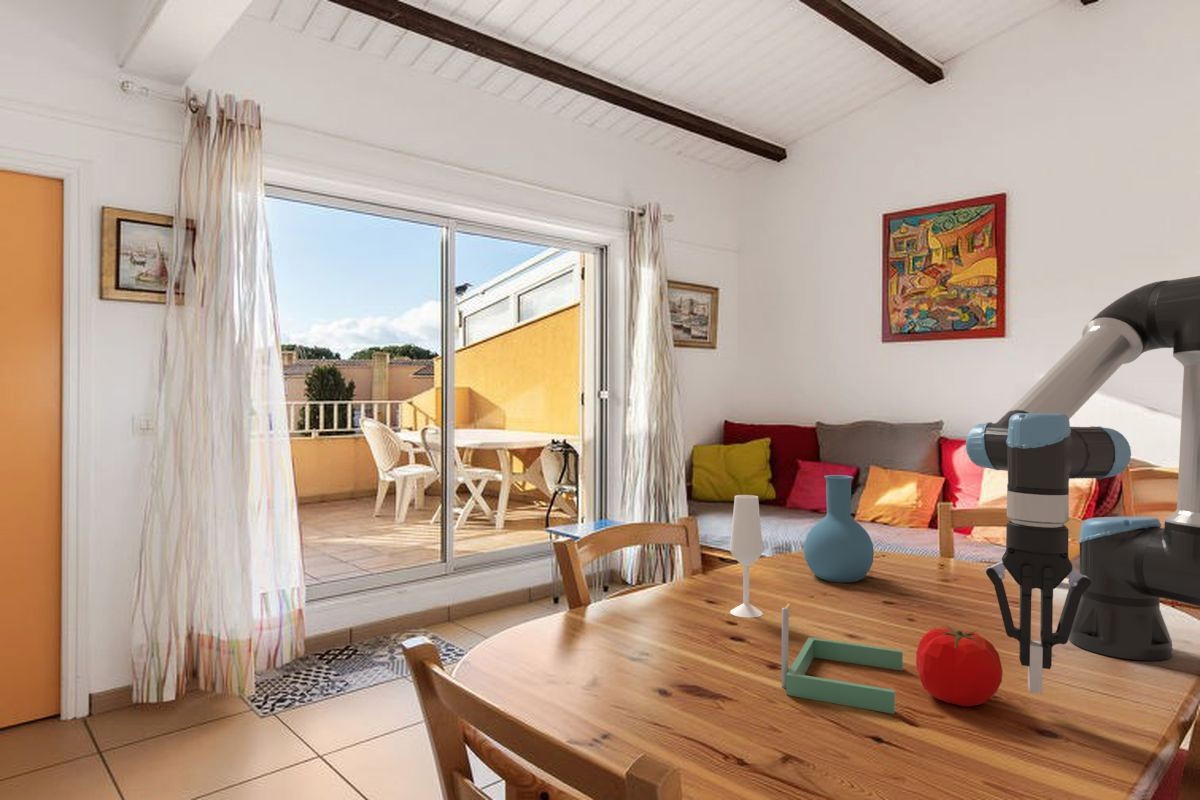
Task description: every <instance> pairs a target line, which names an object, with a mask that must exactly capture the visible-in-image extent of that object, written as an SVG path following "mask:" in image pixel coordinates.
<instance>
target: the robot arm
mask: <svg viewBox="0 0 1200 800" xmlns="http://www.w3.org/2000/svg"><path fill="white" fill-rule="evenodd" d="M1081 334H1082V335H1081V336H1082V337H1081V338H1080V340H1078V341H1077V342H1076V343H1075V344H1074V345H1073V346H1072V347H1071V348H1070V349H1069V350H1068V351H1067V352H1066V353H1065V354H1064V355H1062V357H1061V358H1060V359H1059V360H1058V361H1057V362H1056V363H1055V364H1054V365H1053V366H1052V367H1050V369H1049V370H1048V371H1047V372H1046V373H1045V374H1043V376H1042V377H1041V378H1040V379H1039V380H1038V381H1036V383H1035V384H1034V385H1033V386H1032V387H1031V388H1030V389H1029V390H1028V391H1027V392H1026V393H1025V394H1023V396H1022V397H1021V398H1020V399H1019V400H1017V402H1016V403H1015V404H1014V405H1013V406H1012V407H1011V408H1010V409H1009V410H1008V411H1007V412H1006V413H1005V414H1004V415H1003V416H1001V418H1000V419H999V420H998V421H997V422H995V423H993V422H992V421H991V422H990V421H989V422H986V423H979V424H977V425H974V426H973V427H972V428H971V429H970V430H969V432H968V434H967V437H966V440H965V450H966V451H965V452H966V454H967V456H968V458H969V459H970V461H971V462H972V463H973V464H974V465H976V466H978V467H981V468H983V469H985V468H986V469H990V470H991V469H992V470H994V471H995V470H996V471H1006V472H1007V487H1006V488H1007V489H1006V517H1007V518H1009V519H1010V520H1009V521H1008V522H1007V523H1006V526H1005V527H1006V530H1005V531H1006V537H1005V539H1006V540H1005V543H1006V546H1005V548H1006V549H1005V552H1004V554H1003V555H1002V557H1001V561H999V562H998V563H995V564H993V565H991V564H989V565H986V566H985V573H986V575H987V577H988V578H989V580H990V582H991V583H992V585H993V587H994V591H995V594H996V599H997V602H998V606H999V611H1000V614H1001V618H1002V621H1003V626H1004V629H1005V634H1006V636H1007V637H1009V638H1012V639H1015V640H1017V641H1018V642H1019V647H1018V649H1019V653H1018V655H1019V656H1018V657H1019V658H1018V659H1019V662H1020V664H1021V665H1020V666H1024V667H1027V688H1028V691H1029V693H1034V694H1039V695H1042V694H1043V669H1044V670H1051V668H1052V665H1053V663H1052V661H1053V659H1052V657H1053V647H1054V646H1056V645H1066V644H1068V641H1070V643H1072V644H1074V645H1075V646H1077V647H1079V648H1082V649H1084V650H1087V651H1090V652H1093V653H1096V654H1099V655H1104V656H1109V657H1113V658H1118V659H1119V658H1120V659H1125V660H1133V661H1134V660H1135V661H1148V662H1149V661H1150V662H1151V661H1154V662H1155V661H1164V660H1167V659H1170V658H1172V656H1173V642H1172V641H1173V640H1172V638H1171V636H1170V633H1169V630H1168V627H1167V625H1166V622H1165V620H1164V616H1163V614H1162V612H1161V609H1160V605H1161V604H1160V602H1161V601H1160V599H1163V600H1164V599H1165V600H1169V601H1172V602H1178V603H1182V604H1187V605H1191V606H1195V607H1198V608H1199V607H1200V275H1199V276H1197V275H1196V276H1190V277H1185V278H1176V279H1170V280H1160V281H1153V282H1152V283H1148V284H1145V285H1142V286H1140V287H1137V288H1135V289H1133V290H1131V291H1130V292H1129V291H1128V293H1125V294H1123V295H1122V296H1121V297H1119V298H1117V299H1116V300H1114V301H1113V302H1112V303H1110V304H1109V305H1107V306H1106V307H1105V308H1104V309H1101V310H1100V311H1099V312H1098V313H1097V314H1096V315H1095V316H1094V317H1093V318H1092V319H1091V320H1090V321H1089V322H1087V324H1086V325H1084V328H1083V330H1082V333H1081ZM1158 349H1159V350H1160V349H1172V357H1173V358H1175V359H1176V360H1177V362H1179V363H1180V364H1181V365H1182V366H1183V381H1182V399H1181V400H1182V402H1181V418H1180V419H1181V421H1180V439H1179V456H1178V457H1179V458H1178V459H1179V460H1178V478H1177V479H1178V480H1177V496H1176V497H1177V500H1176V509H1175V511H1174V512H1172V513H1171V514H1170V515H1168V516H1167V517H1165V518H1164V527H1163V528H1162V523H1161V521H1160V519H1158V517H1151V516H1104V517H1103V516H1101V517H1091V518H1087V519H1085V520H1084V521H1083V522H1081V525H1080V530H1079V531H1080V533H1079V540H1078V544H1079V571H1077V570H1076V569H1074V568H1073V564H1072V562H1071V561H1070V557H1069V533H1070V532H1069V528H1067V526H1066V525H1065V524H1066V523H1068V522H1069V521H1070V520H1069V519H1070V518H1069V517H1070V495H1069V494H1070V490H1069V487H1070V486H1069V485H1070V479H1073V480H1074V479H1096V480H1102V479H1105V478H1111V477H1115V476H1118V475H1120V474H1122V473H1123V472H1124V471H1125V470H1126V469H1127V468H1128V466H1129V464H1130V462H1131V458H1132V457H1131V456H1132V451H1131V446H1130V443H1129V441H1128V440H1127V438H1126V437H1125V436H1124V434H1122V433H1121V432H1120V431H1118V430H1117V429H1114V428H1110V427H1102V426H1100V425H1099V426H1092V425H1091V426H1071V425H1070V423H1071V422H1070V419H1071V418H1072V417H1074V415H1075V414H1076V413H1077V412H1078V411H1079V410H1080V409H1081V408H1082V407H1083V406H1084V405H1085V404H1086V403H1087V402H1088V401H1089V399H1091V398H1092V397H1093V396H1094V394H1095V393H1096V392H1097V391H1098V390H1099V389H1100V388H1101V387H1102V386H1103V385H1104V384H1105V383H1106V382H1107V381H1108V380H1109V379H1110V378H1111V377H1112V376H1113V375H1114V374H1115V373H1116V371H1117V370H1118V369H1119V368H1120V367H1121V366H1122V365H1126V364H1129V363H1132V362H1134V361H1136V360H1137V359H1138V358H1139V357H1140V356H1141V355H1142V354H1143V353H1146V352H1148V351H1152V350H1153V351H1154V350H1158ZM1005 570H1007V572H1008V573H1009V574H1010V576H1011V577H1012V578H1013V579H1014V581H1015V583H1016V584H1017V585H1018V586H1019V624H1018V625H1019V628H1017V627H1016V626H1015V624H1014V620H1013V617H1012V611H1011V609H1010V605H1009V600H1008V597H1007V592H1006V589H1005V585H1004V582H1003V580H1004V579H1005V578H1006V574H1005ZM1067 577H1069V579H1068V581H1067V582H1068V584H1069V588H1068V590H1067V591H1068V592H1067V594H1066V598H1065V600H1064V604H1063V607H1062V610H1061V614H1060V617H1059V621H1058V624H1057V627H1056V630H1055V632H1053V621H1054V620H1053V617H1054V616H1053V615H1054V614H1053V612H1054V611H1053V608H1054V607H1053V605H1054V603H1053V602H1054V601H1053V600H1054V590H1055V589H1057V588H1058V586H1059V585H1060V584H1061V583H1062V582H1063V581H1064V580H1065V579H1067ZM1033 589H1037V590H1039V592H1040V622H1039V623H1040V625H1039V627H1040V629H1039V630H1040V634H1039V635H1040V636H1039V637H1040V641H1039V640H1032V639H1031V637H1032V636H1031V635H1032V626H1031V625H1032V596H1033V593H1032V592H1033Z"/></svg>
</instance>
